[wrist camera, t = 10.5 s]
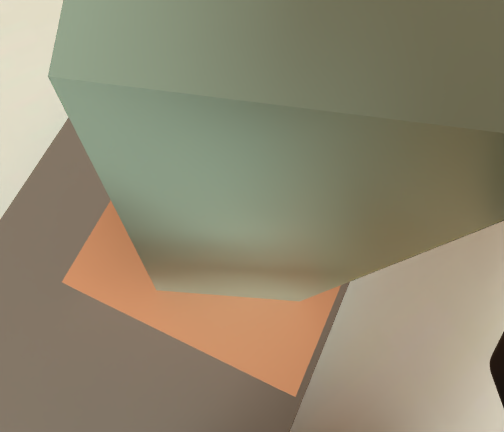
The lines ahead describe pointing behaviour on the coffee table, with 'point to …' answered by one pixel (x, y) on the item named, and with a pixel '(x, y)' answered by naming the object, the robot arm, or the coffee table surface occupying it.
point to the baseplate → (133, 325)
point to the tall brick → (287, 133)
